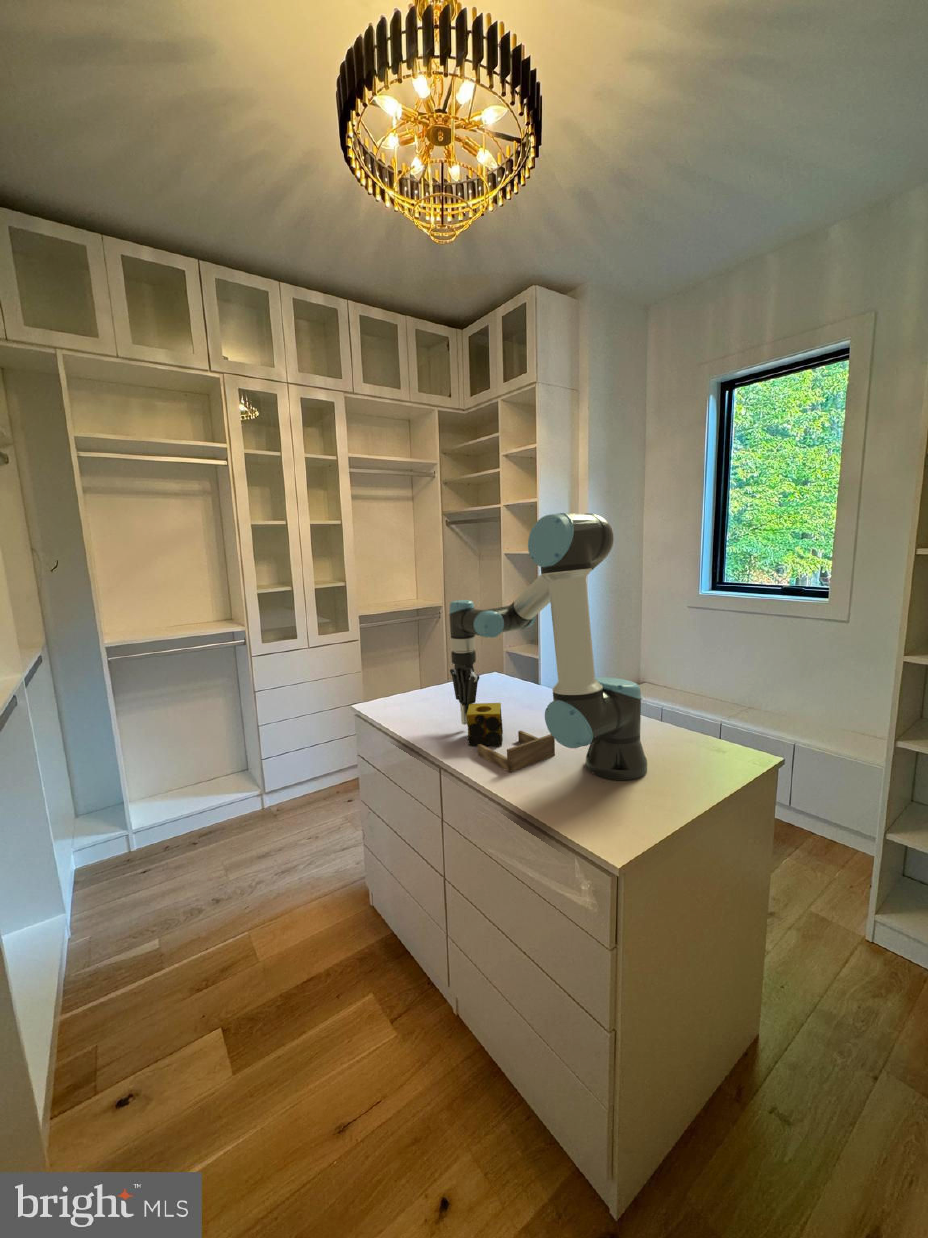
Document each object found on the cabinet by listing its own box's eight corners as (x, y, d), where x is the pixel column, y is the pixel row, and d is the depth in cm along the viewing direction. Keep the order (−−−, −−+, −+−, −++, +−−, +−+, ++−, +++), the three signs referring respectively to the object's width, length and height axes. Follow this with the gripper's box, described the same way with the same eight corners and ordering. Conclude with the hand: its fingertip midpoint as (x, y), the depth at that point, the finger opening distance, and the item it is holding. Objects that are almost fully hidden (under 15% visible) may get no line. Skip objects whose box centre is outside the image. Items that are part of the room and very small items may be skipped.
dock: (554, 755, 136) (554, 734, 135) (510, 772, 127) (509, 750, 127) (521, 740, 148) (520, 720, 147) (477, 754, 139) (477, 734, 138)
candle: (502, 733, 154) (501, 702, 152) (502, 746, 144) (501, 713, 142) (470, 733, 155) (468, 702, 153) (467, 746, 145) (466, 714, 143)
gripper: (485, 651, 150) (488, 726, 154) (461, 645, 160) (464, 715, 164) (465, 655, 146) (468, 732, 149) (441, 648, 156) (445, 720, 160)
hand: (466, 723), depth 157 cm, fingers closed
